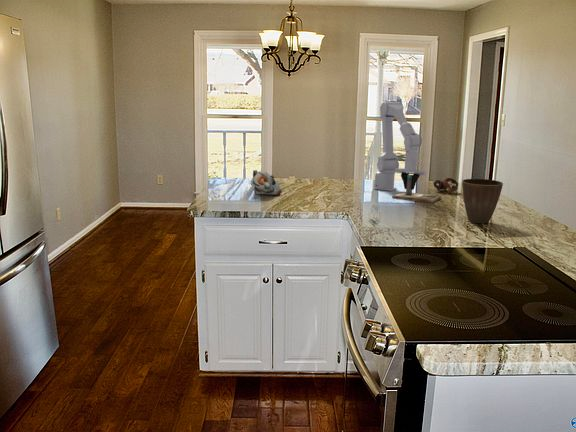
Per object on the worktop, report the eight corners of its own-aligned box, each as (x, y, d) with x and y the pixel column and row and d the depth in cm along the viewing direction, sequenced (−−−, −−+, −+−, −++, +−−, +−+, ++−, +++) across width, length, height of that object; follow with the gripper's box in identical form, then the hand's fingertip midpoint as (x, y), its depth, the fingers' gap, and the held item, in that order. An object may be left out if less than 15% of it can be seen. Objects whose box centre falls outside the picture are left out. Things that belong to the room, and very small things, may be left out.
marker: (404, 194, 257) (406, 175, 255) (406, 193, 259) (408, 174, 257) (410, 195, 255) (412, 176, 253) (412, 194, 258) (414, 175, 256)
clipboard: (392, 198, 255) (392, 195, 254) (402, 193, 266) (402, 190, 266) (432, 203, 245) (432, 200, 245) (440, 198, 257) (440, 195, 257)
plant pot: (472, 227, 203) (477, 185, 199) (450, 218, 217) (454, 179, 213) (506, 225, 207) (511, 184, 203) (483, 216, 221) (487, 178, 217)
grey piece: (286, 194, 256) (281, 171, 247) (265, 206, 252) (258, 182, 244) (271, 181, 267) (265, 158, 258) (250, 192, 263) (243, 169, 254)
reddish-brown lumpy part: (450, 191, 279) (458, 178, 274) (453, 202, 272) (461, 189, 267) (429, 184, 278) (436, 172, 273) (431, 196, 271) (439, 183, 265)
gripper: (393, 160, 254) (391, 188, 257) (423, 162, 247) (421, 192, 250) (398, 158, 260) (396, 186, 263) (428, 161, 253) (426, 189, 256)
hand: (409, 189), depth 257 cm, fingers closed on marker, 3 cm apart
